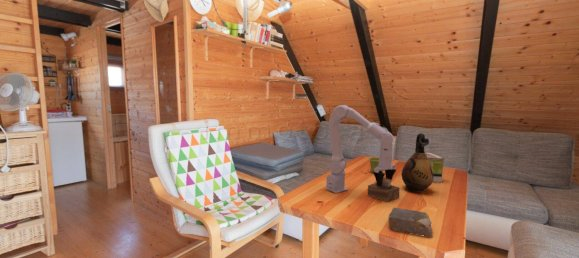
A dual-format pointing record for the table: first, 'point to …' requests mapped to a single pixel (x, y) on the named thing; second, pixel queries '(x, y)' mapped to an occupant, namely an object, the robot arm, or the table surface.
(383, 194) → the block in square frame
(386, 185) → the rectangular block end
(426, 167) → the ceramic jug
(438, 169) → the tea box
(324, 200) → the table surface
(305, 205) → the table surface
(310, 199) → the table surface
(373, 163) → the plant pot
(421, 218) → the geological specimen
